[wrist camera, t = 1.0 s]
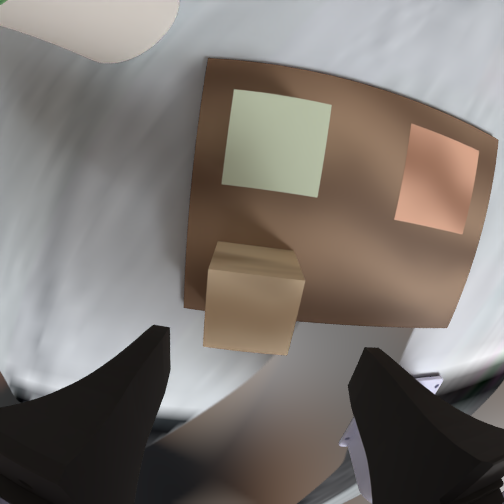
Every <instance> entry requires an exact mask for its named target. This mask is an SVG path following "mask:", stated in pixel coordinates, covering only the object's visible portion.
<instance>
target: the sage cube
mask: <svg viewBox="0 0 504 504" xmlns="http://www.w3.org/2000/svg"><path fill="white" fill-rule="evenodd" d="M331 107H332V105H329V104H325V103H320V102H315V101H310V100H305V99H300V98H294V97H288V96H282V95H276V94H269V93H262V92H254V91H246V90H236V89H234V93H233V100H232V107H231V114H230V121H229V129H228V136H227V144H226V152H225V160H224V168H223V176H222V184H224V185H232V186H240V187H248V188H256V189H263V190H271V191H278V192H284V193H291V194H298V195H304V196H310V197H316V198H317V197H318V191H319V186H320V180H321V174H322V168H323V161H324V155H325V149H326V142H327V135H328V129H329V122H330V114H331Z"/></svg>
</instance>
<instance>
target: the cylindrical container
mask: <svg viewBox="0 0 504 504" xmlns="http://www.w3.org/2000/svg"><path fill="white" fill-rule="evenodd" d="M178 9H179V0H0V26H2V27H6V28H9V29H12V30H15V31H18V32H21V33H24V34H27V35H30V36H33V37H36V38H38V39H41V40H44V41H46V42H49V43H52V44H54V45H57V46H59V47H62V48H64V49H67V50H69V51H72V52H74V53H77V54H79V55H81V56H84V57H86V58H88V59H90V60H93V61H96V62H99V63H108V64H111V63H119V62H123V61H126V60H130V59H132V58H134V57H136V56H138V55H140V54H142V53H144V52H145V51H147V50H148V49H150V48H151V47H152V46H154V45H155V44H156V43H157V42H158V41H160V40H161V38H162V37H163V36H164V35H165V34H166V33H167V32H168V30H169V29H170V27H171V26H172V24H173V23H174V21H175V18H176V16H177V14H178Z"/></svg>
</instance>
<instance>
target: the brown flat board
mask: <svg viewBox="0 0 504 504" xmlns="http://www.w3.org/2000/svg"><path fill="white" fill-rule="evenodd" d="M234 89H236V90H246V91H254V92H262V93H269V94H276V95H282V96H288V97H294V98H300V99H305V100H310V101H315V102H320V103H325V104H329V105H332V107H331V114H330V122H329V129H328V135H327V142H326V149H325V155H324V161H323V168H322V174H321V180H320V186H319V191H318V197H317V198H316V197H310V196H304V195H298V194H291V193H284V192H278V191H271V190H263V189H256V188H248V187H240V186H232V185H224V184H222V176H223V168H224V160H225V152H226V144H227V136H228V129H229V121H230V114H231V107H232V100H233V93H234ZM497 149H498V139H496V138H494V137H492V136H491V135H489V134H487V133H485V132H483V131H481V130H479V129H477V128H475V127H473V126H471V125H469V124H467V123H465V122H463V121H461V120H459V119H457V118H455V117H452V116H450V115H448V114H446V113H443V112H441V111H439V110H436V109H434V108H432V107H429V106H427V105H424V104H422V103H419V102H416V101H414V100H411V99H408V98H406V97H403V96H400V95H397V94H394V93H391V92H388V91H385V90H382V89H379V88H376V87H372V86H369V85H366V84H362V83H359V82H355V81H351V80H347V79H344V78H340V77H335V76H331V75H327V74H322V73H318V72H313V71H308V70H303V69H298V68H292V67H286V66H280V65H273V64H266V63H258V62H250V61H240V60H229V59H215V58H208V62H207V68H206V74H205V80H204V86H203V93H202V100H201V107H200V114H199V121H198V129H197V137H196V145H195V154H194V163H193V173H192V183H191V194H190V205H189V217H188V231H187V246H186V263H185V285H184V308H188V309H195V310H203V311H205V306H206V292H207V279H208V269H209V266H210V263H211V260H212V257H213V254H214V251H215V248H216V245H217V242H218V241H220V242H228V243H236V244H244V245H252V246H260V247H268V248H276V249H283V250H291V251H294V252H295V254H296V257H297V260H298V262H299V265H300V268H301V270H302V273H303V276H304V278H305V284H304V289H303V293H302V298H301V302H300V306H299V310H298V315H297V319H296V321H300V322H313V323H325V324H340V325H358V326H378V327H406V328H447V327H448V325H449V323H450V321H451V318H452V316H453V314H454V311H455V309H456V307H457V304H458V302H459V299H460V296H461V294H462V291H463V289H464V286H465V283H466V280H467V278H468V275H469V272H470V269H471V266H472V263H473V260H474V257H475V253H476V250H477V247H478V243H479V240H480V236H481V232H482V229H483V225H484V221H485V217H486V212H487V208H488V204H489V199H490V194H491V189H492V183H493V177H494V171H495V165H496V157H497Z"/></svg>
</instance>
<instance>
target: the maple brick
mask: <svg viewBox="0 0 504 504" xmlns="http://www.w3.org/2000/svg"><path fill="white" fill-rule="evenodd" d="M304 284H305V278H304V276H303V273H302V270H301V268H300V265H299V262H298V260H297V257H296V254H295V252H294V251H291V250H283V249H276V248H268V247H260V246H252V245H244V244H236V243H228V242H220V241H218V242H217V245H216V248H215V251H214V254H213V257H212V260H211V263H210V266H209V269H208V279H207V292H206V306H205V321H204V337H203V347H211V348H218V349H226V350H235V351H243V352H253V353H263V354H275V355H287V354H288V350H289V347H290V343H291V339H292V335H293V331H294V327H295V323H296V319H297V315H298V310H299V306H300V302H301V298H302V293H303V289H304Z"/></svg>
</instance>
